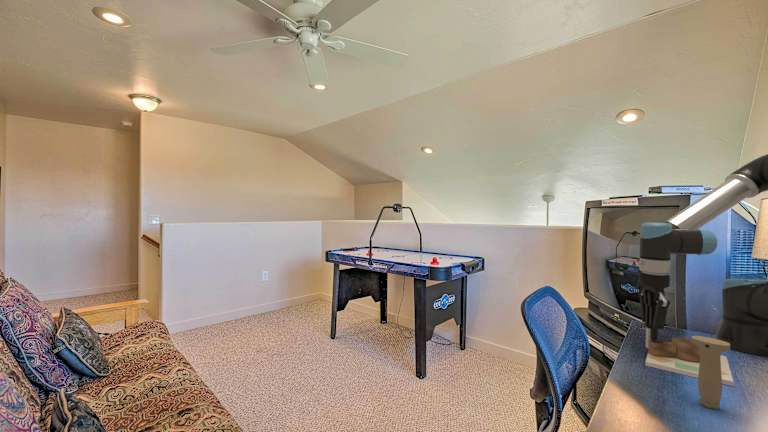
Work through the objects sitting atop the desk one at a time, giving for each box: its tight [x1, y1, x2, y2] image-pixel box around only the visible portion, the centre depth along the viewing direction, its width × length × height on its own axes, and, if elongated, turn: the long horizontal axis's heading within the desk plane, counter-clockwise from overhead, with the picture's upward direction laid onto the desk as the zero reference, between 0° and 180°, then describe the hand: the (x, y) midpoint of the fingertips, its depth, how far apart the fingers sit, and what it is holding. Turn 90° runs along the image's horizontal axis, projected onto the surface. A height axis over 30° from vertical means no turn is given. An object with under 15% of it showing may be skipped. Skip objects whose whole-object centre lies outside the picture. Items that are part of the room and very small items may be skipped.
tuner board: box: [644, 350, 734, 387], centre depth 102 cm, size 18×22×1 cm
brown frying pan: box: [648, 336, 700, 362], centre depth 104 cm, size 13×7×5 cm, turn 78°
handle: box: [691, 335, 731, 410], centre depth 79 cm, size 5×6×15 cm
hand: (651, 348), depth 106 cm, fingers closed
